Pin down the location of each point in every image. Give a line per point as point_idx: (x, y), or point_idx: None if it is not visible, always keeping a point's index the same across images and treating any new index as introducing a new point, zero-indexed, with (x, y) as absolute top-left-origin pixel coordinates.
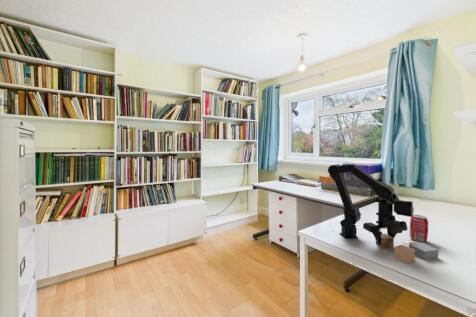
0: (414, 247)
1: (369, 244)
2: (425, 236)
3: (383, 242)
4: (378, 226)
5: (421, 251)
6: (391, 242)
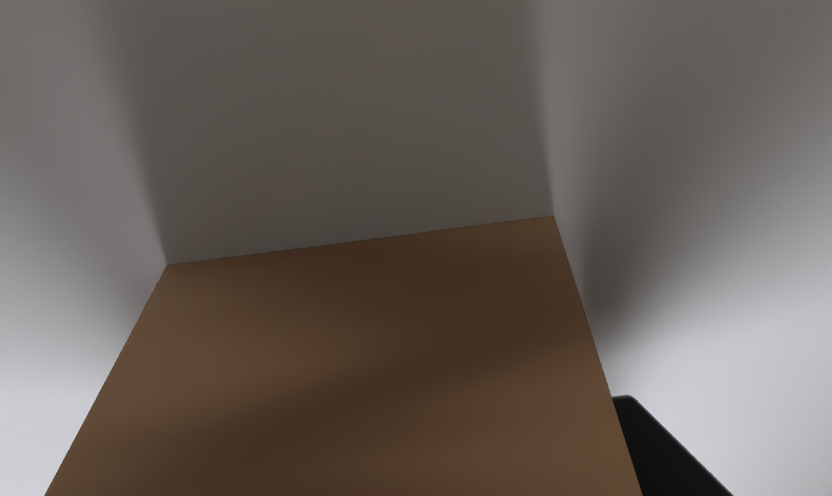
0: None
1: (785, 463)
2: None
3: (603, 404)
4: None
5: None
6: (194, 413)
